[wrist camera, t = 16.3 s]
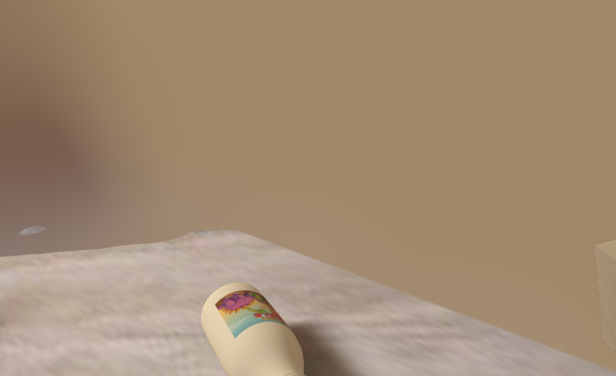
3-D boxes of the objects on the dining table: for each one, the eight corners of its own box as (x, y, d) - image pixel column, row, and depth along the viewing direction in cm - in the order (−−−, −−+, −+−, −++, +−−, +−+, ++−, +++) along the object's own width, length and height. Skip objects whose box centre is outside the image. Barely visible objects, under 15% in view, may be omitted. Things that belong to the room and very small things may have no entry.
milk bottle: (247, 349, 69) (316, 455, 51) (188, 333, 66) (239, 442, 48) (274, 290, 69) (352, 378, 51) (216, 272, 65) (278, 359, 47)
